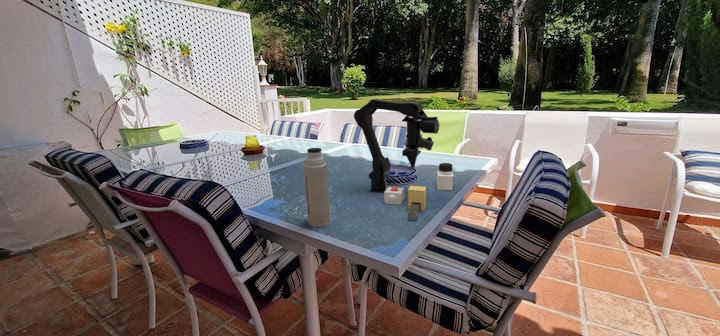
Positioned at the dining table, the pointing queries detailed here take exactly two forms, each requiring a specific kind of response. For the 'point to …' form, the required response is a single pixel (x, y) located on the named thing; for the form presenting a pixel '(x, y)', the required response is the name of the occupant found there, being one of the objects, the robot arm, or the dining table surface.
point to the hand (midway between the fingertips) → (413, 167)
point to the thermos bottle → (316, 188)
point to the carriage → (417, 196)
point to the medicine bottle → (445, 177)
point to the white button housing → (394, 196)
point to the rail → (414, 211)
